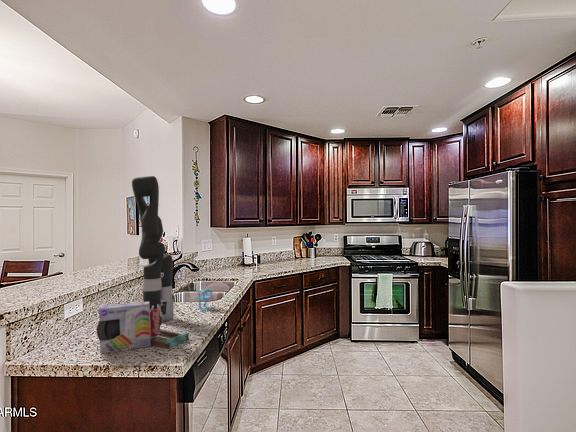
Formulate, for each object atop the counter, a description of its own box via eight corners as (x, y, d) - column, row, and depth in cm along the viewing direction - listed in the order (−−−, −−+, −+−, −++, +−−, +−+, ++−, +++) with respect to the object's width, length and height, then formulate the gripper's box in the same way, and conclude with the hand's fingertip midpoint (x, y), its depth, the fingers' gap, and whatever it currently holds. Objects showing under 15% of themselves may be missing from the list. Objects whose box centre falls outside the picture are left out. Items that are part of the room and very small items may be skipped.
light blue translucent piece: (207, 307, 204) (206, 286, 204) (215, 309, 198) (214, 288, 198) (195, 309, 198) (195, 288, 198) (203, 311, 192) (203, 290, 193)
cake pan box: (96, 354, 132) (96, 307, 132) (98, 349, 137) (99, 304, 137) (150, 347, 138) (150, 303, 138) (151, 343, 143) (151, 300, 143)
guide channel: (154, 332, 157) (154, 325, 157) (188, 340, 146) (188, 332, 146) (132, 340, 147) (132, 333, 147) (167, 348, 136) (167, 341, 136)
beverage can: (162, 333, 152) (162, 306, 152) (157, 338, 146) (157, 309, 146) (147, 333, 152) (147, 306, 152) (142, 338, 146) (142, 310, 146)
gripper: (159, 285, 157) (160, 322, 157) (131, 290, 145) (132, 331, 145) (171, 286, 154) (171, 324, 154) (143, 292, 141) (143, 333, 141)
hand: (152, 327), depth 149 cm, fingers closed on beverage can, 6 cm apart
